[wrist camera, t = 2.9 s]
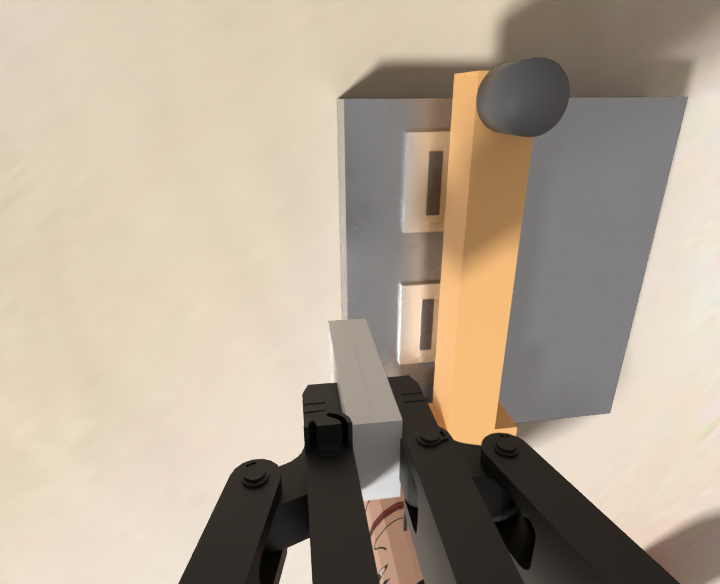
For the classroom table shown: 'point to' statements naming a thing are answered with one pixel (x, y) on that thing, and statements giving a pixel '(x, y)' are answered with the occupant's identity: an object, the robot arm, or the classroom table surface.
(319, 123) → the classroom table surface
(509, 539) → the robot arm
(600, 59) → the classroom table surface
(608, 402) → the board
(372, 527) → the printed cylinder
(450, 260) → the bar
